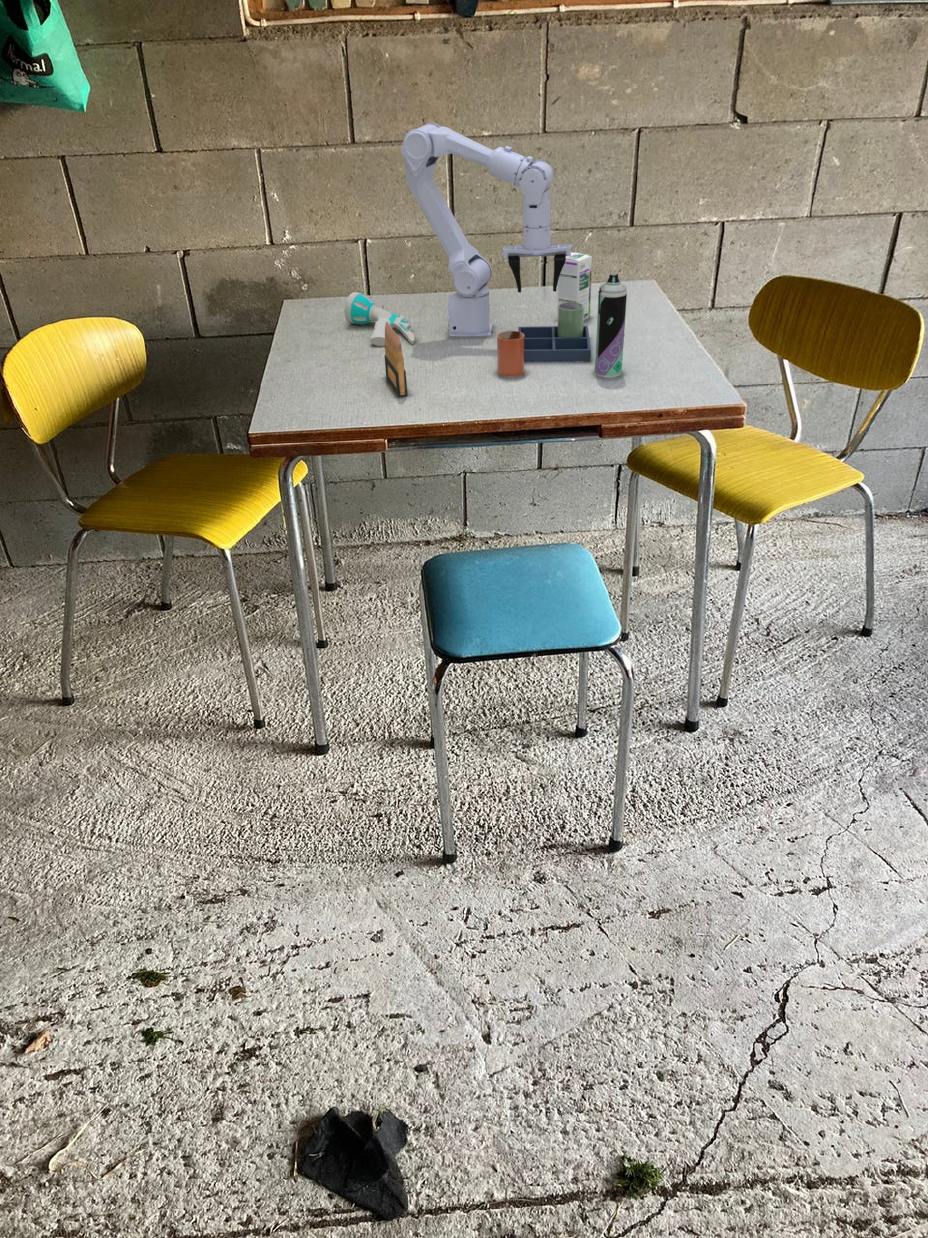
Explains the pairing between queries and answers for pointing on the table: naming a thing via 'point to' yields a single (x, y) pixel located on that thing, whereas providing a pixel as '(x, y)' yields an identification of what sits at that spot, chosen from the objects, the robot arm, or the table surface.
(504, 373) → the terracotta cup
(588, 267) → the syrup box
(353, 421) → the table surface
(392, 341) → the ammunition clip
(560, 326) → the sage cup
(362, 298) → the garden hose nozzle
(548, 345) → the cup rack
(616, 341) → the spray can
